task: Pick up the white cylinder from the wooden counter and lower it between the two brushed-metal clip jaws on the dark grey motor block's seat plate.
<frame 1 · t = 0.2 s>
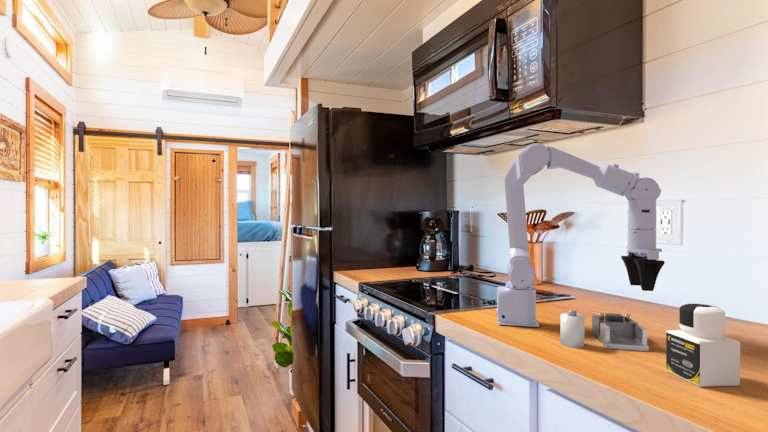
hand: (641, 287, 99), 10 cm above the worktop, fingers open, 7 cm apart
medicine bottle: (701, 379, 70), on the worktop
white cylinder: (572, 344, 89), on the worktop
motor: (622, 345, 88), on the worktop
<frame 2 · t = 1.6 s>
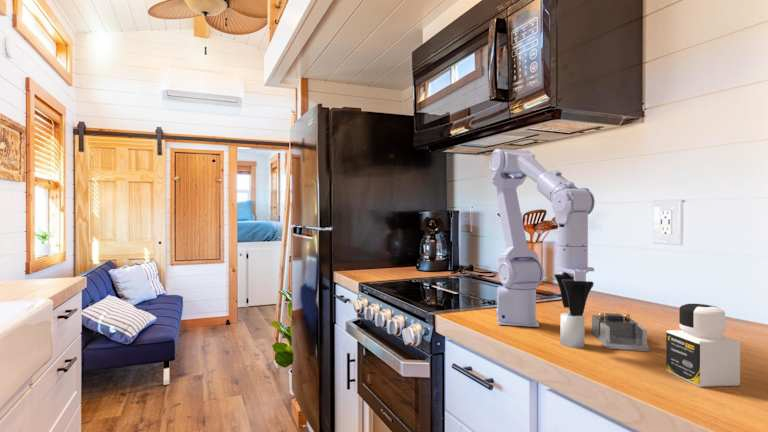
hand: (572, 311, 89), 7 cm above the worktop, fingers open, 7 cm apart
nothing on the worktop moved.
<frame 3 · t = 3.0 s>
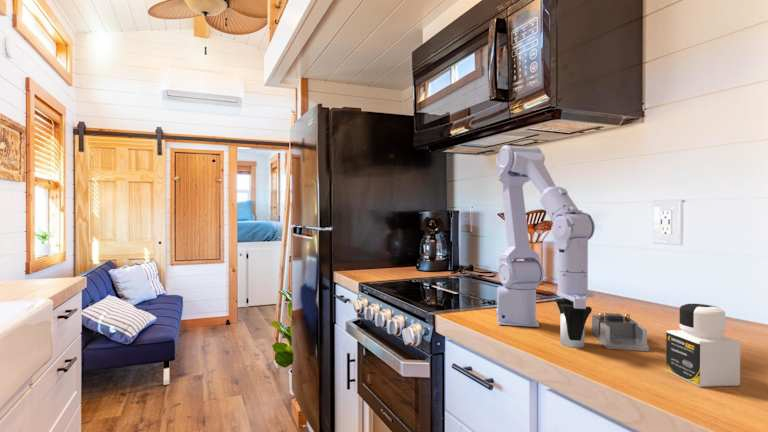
hand: (572, 336, 89), 2 cm above the worktop, fingers closed on white cylinder, 5 cm apart
white cylinder: (572, 344, 89), on the worktop, touching gripper
everything else where it was.
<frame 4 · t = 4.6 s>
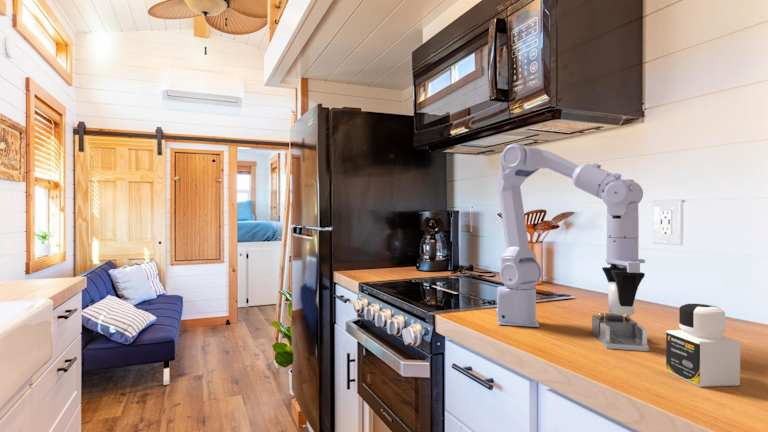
hand: (622, 303, 88), 9 cm above the worktop, fingers closed on white cylinder, 5 cm apart
white cylinder: (621, 312, 88), point 7 cm above the worktop, touching gripper
everything else where it was.
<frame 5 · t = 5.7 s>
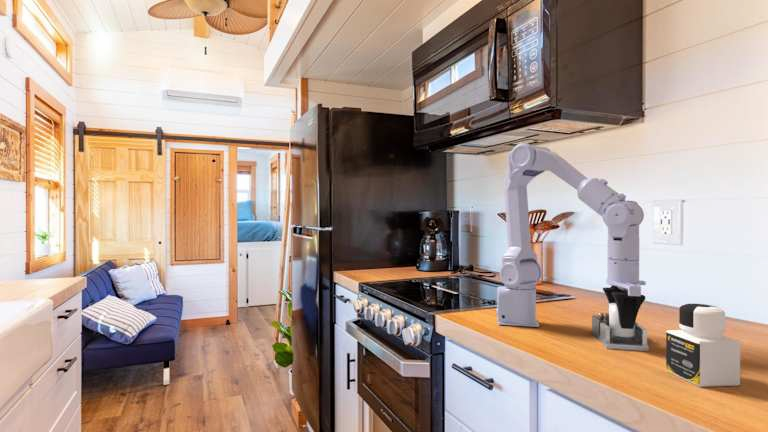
hand: (622, 325, 88), 4 cm above the worktop, fingers closed on white cylinder, 5 cm apart
white cylinder: (622, 334, 88), point 2 cm above the worktop, touching gripper
everything else where it was.
when the fingers open (4 cm above the worktop, at t = 6.3 s): white cylinder drops 1 cm, resting on motor.
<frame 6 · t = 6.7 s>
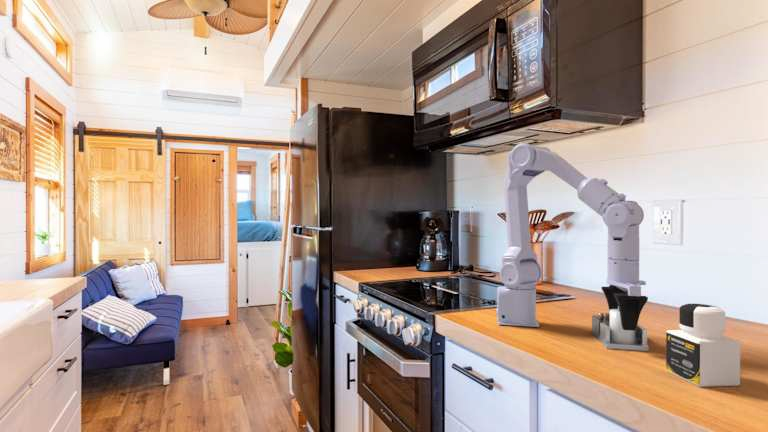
hand: (622, 325, 88), 4 cm above the worktop, fingers open, 7 cm apart
white cylinder: (621, 340, 88), point 1 cm above the worktop, touching motor
everything else where it was.
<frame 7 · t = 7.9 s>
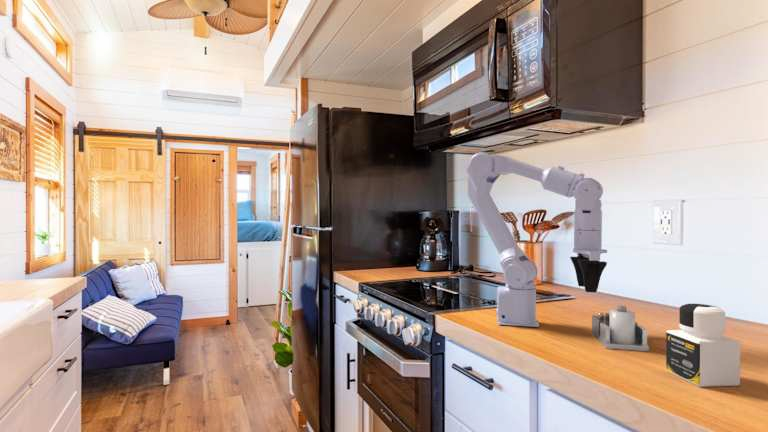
hand: (587, 289, 98), 10 cm above the worktop, fingers open, 7 cm apart
nothing on the worktop moved.
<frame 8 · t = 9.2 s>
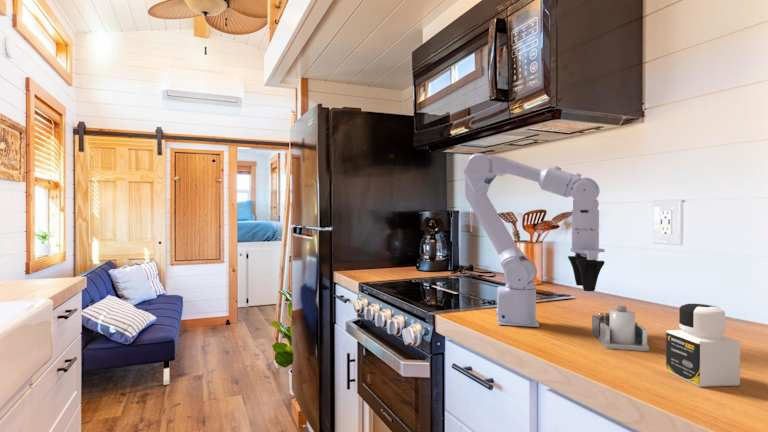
hand: (585, 288, 99), 10 cm above the worktop, fingers open, 7 cm apart
nothing on the worktop moved.
at the end: white cylinder 0.2 cm off-centre on the motor, point 1.0 cm above the motor's base; white cylinder tilted 0°; the gripper is holding nothing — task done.
